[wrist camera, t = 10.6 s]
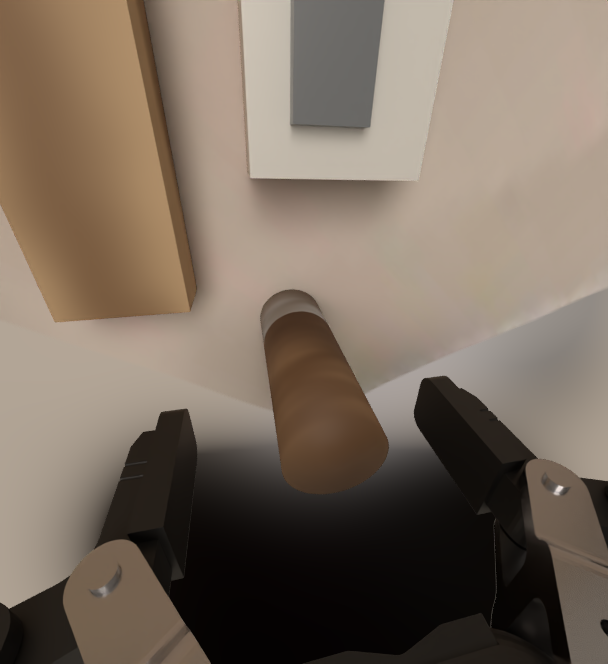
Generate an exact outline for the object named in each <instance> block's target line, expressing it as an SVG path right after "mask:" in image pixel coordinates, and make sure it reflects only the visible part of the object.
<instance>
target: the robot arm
mask: <svg viewBox="0 0 608 664" xmlns="http://www.w3.org/2000/svg"><path fill="white" fill-rule="evenodd" d="M414 418H415V421H416V424H417V426H418V428H419V429H420V431H421V432H422V434H423V435H424V437H425V438H426V440H427V441H428V443H429V444H430V446H431V447H432V449H433V450H434V452H435V453H436V455H437V456H438V458H439V459H440V461H441V462H442V464H443V465H444V466H445V468H446V470H447V471H448V473H449V474H450V476H451V477H452V478H453V480H454V481H455V483H456V484H457V486H458V487H459V489H460V490H461V492H462V493H463V495H464V496H465V498H466V499H467V501H468V502H469V504H470V505H471V507H472V508H473V510H474V511H475V513H476V514H477V515H478V514H483V513H487V512H492V513H493V514H494V516H495V517H496V520H495V522H494V540H495V541H494V543H495V565H496V598H495V602H494V606H493V611H492V616H491V628H490V627H489V626H488V625H487V623H486V621H485V619H484V617H483V615H482V613H480V614H477V615H473V616H469V617H466V618H463V619H459V620H455V621H452V622H449V623H445V624H441V625H440V626H438V627H437V628H436V629H434V630H433V631H432V632H431V633H429V634H428V635H427V636H426V637H424V638H423V639H422V640H421V641H420V642H418V643H417V644H416V645H414V646H413V647H412V648H411V649H409V650H408V651H407V652H406V653H404V654H402V655H387V654H377V653H366V652H355V651H346V652H343V653H339V654H335V655H332V656H328V657H325V658H321V659H318V660H314V661H311V662H307V663H304V664H608V481H602V480H593V479H586V478H579V477H578V476H577V475H576V474H574V473H573V472H572V471H571V470H569V469H567V468H566V467H564V466H562V465H560V464H558V463H556V462H553V461H550V460H546V459H538V458H537V457H536V456H535V455H534V454H533V453H532V452H531V451H530V450H529V449H528V448H527V447H526V446H525V445H524V444H523V443H522V442H521V441H520V440H519V439H518V438H517V437H516V436H515V435H514V434H513V433H512V432H511V431H510V430H509V429H508V428H507V427H506V426H505V425H504V424H503V423H502V422H501V421H498V420H497V417H496V416H495V415H494V414H493V413H492V412H491V411H488V408H487V407H486V406H485V405H484V404H483V403H482V402H481V401H480V400H479V399H478V398H477V397H475V396H474V395H472V394H471V393H469V392H467V391H466V390H464V389H462V388H461V389H459V388H458V387H457V386H456V385H455V384H454V383H453V382H452V381H451V380H450V379H449V378H448V377H447V376H439V377H431V378H424V379H423V380H422V382H421V385H420V389H419V393H418V397H417V401H416V405H415V409H414ZM196 466H197V445H196V440H195V435H194V432H193V428H192V423H191V420H190V416H189V412H188V410H187V409H180V410H173V411H165V412H161V414H160V416H159V419H158V423H157V426H156V430H155V431H147V432H143V433H142V434H141V435H140V436H139V438H138V439H137V440H136V441H135V443H134V444H133V445H132V446H131V448H130V451H129V454H128V457H127V460H126V462H125V467H124V469H123V471H122V474H121V477H120V482H119V483H118V486H117V489H116V492H115V494H114V497H113V500H112V504H111V506H110V509H109V512H108V515H107V518H106V521H105V524H104V527H103V529H102V532H101V536H100V539H99V541H98V543H97V545H96V547H95V548H94V550H93V551H91V552H90V553H89V554H88V555H87V556H85V557H84V558H83V560H82V561H81V562H80V563H79V564H78V565H77V567H76V568H75V569H74V571H73V572H72V574H71V575H70V576H69V577H67V578H66V579H65V580H63V581H62V582H60V583H58V584H56V585H55V586H53V587H51V588H49V589H47V590H45V591H43V592H41V593H39V594H37V595H36V596H33V597H31V598H30V599H27V600H25V601H24V602H22V603H20V604H18V605H16V606H14V607H12V608H10V609H8V608H7V607H6V606H5V605H3V604H2V603H0V664H210V662H209V660H208V659H207V657H206V656H205V654H204V652H203V650H202V649H201V647H200V646H199V644H198V642H197V641H196V639H195V638H194V636H193V634H192V633H191V631H190V630H189V629H188V627H187V626H186V625H185V624H184V622H183V621H182V619H181V617H180V616H179V614H178V612H177V611H176V609H175V607H174V606H173V604H172V602H171V601H170V599H169V591H170V584H171V580H176V579H180V578H183V577H184V571H185V562H186V553H187V545H188V536H189V526H190V518H191V509H192V501H193V491H194V483H195V474H196Z"/></svg>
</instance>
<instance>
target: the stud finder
mask: <svg viewBox="0 0 608 664" xmlns="http://www.w3.org/2000/svg"><path fill="white" fill-rule="evenodd" d="M453 1H454V0H238V17H239V35H240V53H241V70H242V88H243V105H244V123H245V141H246V158H247V172H248V174H249V176H250V178H271V179H330V180H389V181H419V176H420V171H421V166H422V161H423V156H424V151H425V146H426V140H427V135H428V130H429V125H430V120H431V115H432V109H433V104H434V99H435V94H436V89H437V84H438V79H439V73H440V68H441V63H442V58H443V53H444V48H445V42H446V37H447V32H448V27H449V22H450V17H451V12H452V6H453Z"/></svg>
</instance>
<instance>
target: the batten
mask: <svg viewBox="0 0 608 664" xmlns="http://www.w3.org/2000/svg"><path fill="white" fill-rule="evenodd" d="M0 204H1V206H2V209H3V211H4V213H5V215H6V217H7V219H8V222H9V224H10V226H11V228H12V230H13V232H14V235H15V237H16V239H17V241H18V243H19V245H20V248H21V250H22V252H23V254H24V256H25V258H26V261H27V263H28V265H29V267H30V269H31V271H32V274H33V276H34V278H35V280H36V282H37V285H38V287H39V289H40V291H41V293H42V295H43V298H44V300H45V302H46V304H47V306H48V308H49V311H50V313H51V315H52V317H53V319H54V321H55V322H66V321H79V320H92V319H104V318H117V317H130V316H143V315H155V314H168V313H181V312H190V311H191V307H192V304H193V300H194V297H195V293H196V290H197V287H196V282H195V277H194V271H193V266H192V260H191V255H190V250H189V244H188V239H187V233H186V228H185V223H184V217H183V212H182V206H181V201H180V196H179V190H178V185H177V179H176V174H175V169H174V163H173V158H172V152H171V147H170V142H169V136H168V131H167V125H166V120H165V115H164V109H163V104H162V98H161V93H160V88H159V82H158V77H157V71H156V66H155V61H154V55H153V50H152V44H151V39H150V34H149V28H148V23H147V17H146V12H145V7H144V1H143V0H0Z"/></svg>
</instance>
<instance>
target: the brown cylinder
mask: <svg viewBox="0 0 608 664" xmlns="http://www.w3.org/2000/svg"><path fill="white" fill-rule="evenodd" d="M260 321H261V328H262V335H263V342H264V349H265V356H266V363H267V370H268V377H269V384H270V391H271V398H272V405H273V412H274V419H275V426H276V433H277V440H278V447H279V454H280V461H281V468H282V474H283V477H284V479H285V480H286V482H287V483H288V484H289V485H290V486H292V487H293V488H295V489H297V490H299V491H302V492H305V493H310V494H330V493H335V492H340V491H344V490H347V489H349V488H352V487H354V486H356V485H358V484H360V483H362V482H364V481H365V480H366V479H368V478H369V477H371V476H372V475H373V474H374V473H375V472H376V471H377V470H378V469H379V468H380V467H381V466H382V464H383V462H384V461H385V459H386V457H387V454H388V449H389V444H388V439H387V437H386V435H385V433H384V431H383V429H382V427H381V425H380V423H379V421H378V419H377V418H376V416H375V414H374V412H373V410H372V408H371V406H370V404H369V402H368V400H367V398H366V397H365V395H364V393H363V391H362V389H361V387H360V385H359V383H358V381H357V379H356V377H355V375H354V374H353V372H352V370H351V368H350V366H349V364H348V362H347V360H346V358H345V356H344V354H343V353H342V351H341V349H340V347H339V345H338V343H337V341H336V339H335V337H334V335H333V333H332V332H331V330H330V328H329V326H328V324H327V322H326V320H325V318H324V316H323V314H322V312H321V310H320V309H319V307H318V305H317V303H316V301H315V300H314V299H313V298H312V297H311V296H310V295H309V294H307V293H305V292H303V291H299V290H285V291H281V292H279V293H277V294H275V295H273V296H272V297H271V298H270V299H268V301H267V302H266V303H265V305H264V306H263V308H262V311H261V316H260Z"/></svg>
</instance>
